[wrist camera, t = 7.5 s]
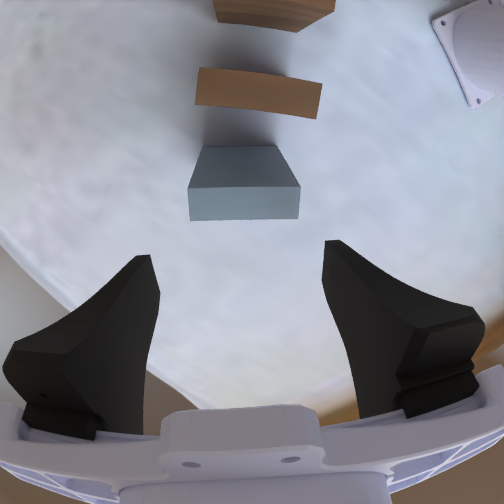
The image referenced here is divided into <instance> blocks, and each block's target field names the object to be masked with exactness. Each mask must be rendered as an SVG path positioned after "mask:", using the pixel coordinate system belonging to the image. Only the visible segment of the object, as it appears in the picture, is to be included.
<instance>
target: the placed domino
mask: <svg viewBox="0 0 504 504" xmlns="http://www.w3.org/2000/svg"><path fill="white" fill-rule="evenodd" d="M300 189H301V187H300V185H299V183H298V181H297V180H296V178H295V176H294V174H293V173H292V171H291V169H290V167H289V166H288V164H287V162H286V161H285V159H284V157H283V155H282V154H281V152H280V150H279V149H278V147H277V146H216V147H203V148H202V150H201V153H200V156H199V158H198V161H197V164H196V166H195V169H194V172H193V175H192V177H191V180H190V183H189V186H188V202H189V214H190V221H207V220H252V219H298V214H299V202H300Z"/></svg>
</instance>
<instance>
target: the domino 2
mask: <svg viewBox="0 0 504 504" xmlns="http://www.w3.org/2000/svg"><path fill="white" fill-rule="evenodd" d="M321 89H322V84H321V83H316V82H311V81H306V80H301V79H296V78H290V77H284V76H278V75H271V74H264V73H257V72H249V71H240V70H230V69H219V68H205V67H199V74H198V82H197V92H196V101H195V105H208V106H221V107H231V108H241V109H250V110H258V111H266V112H273V113H280V114H287V115H293V116H299V117H305V118H310V119H316V117H317V111H318V106H319V100H320V95H321Z"/></svg>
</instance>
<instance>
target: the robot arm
mask: <svg viewBox="0 0 504 504" xmlns="http://www.w3.org/2000/svg"><path fill="white" fill-rule="evenodd" d="M488 1H489V2H488ZM441 21H442V22H443V26H442V24H441ZM432 26H433V29H434V30H435V32H436V34H437V36H438V38H439V40H440V41H441V43H442V45H443V47H444V49H445V51H446V53H447V55H448V57H449V59H450V61H451V64H452V66H453V68H454V70H455V72H456V74H457V77H458V79H459V81H460V84H461V86H462V88H463V91H464V93H465V96H466V98H467V101H468V104H469V106H470V107H471V108H473V109H477V108H478V107H480V106H481V105H483V104H484V103H486V102H487V101H488V100H490V99H491V98H493V97H494V96H496V95H501V96H504V5H501V4H500V2H499V0H477V1H474V2H472V3H470V4H467V5H465V6H463V7H460V8H458V9H456V10H453V11H451V12H449V13H447V14H445V15H443V16H440V17H438V18H436V19H434V20H433V21H432ZM477 99H478V102H477ZM322 284H323V288H324V292H325V296H326V300H327V303H328V305H329V308H330V310H331V313H332V315H333V318H334V320H335V322H336V325H337V327H338V330H339V332H340V335H341V337H342V340H343V343H344V346H345V349H346V352H347V356H348V360H349V364H350V368H351V372H352V377H353V381H354V386H355V391H356V397H357V402H358V408H359V415H360V420H355V421H350V422H345V423H340V424H335V425H329V426H323V427H320V425H319V421H318V417H317V414H316V412H315V410H312V409H310V408H307V407H304V406H302V405H286V404H280V405H271V406H260V407H247V408H231V409H204V410H186V411H178V412H174V413H172V414H171V415H169V416H167V417H166V418H164V419H162V423H161V433H160V436H147V435H143V398H144V382H145V371H146V363H147V358H148V353H149V349H150V345H151V340H152V336H153V332H154V328H155V324H156V320H157V316H158V311H159V302H160V290H159V286H158V283H157V279H156V276H155V272H154V268H153V265H152V261H151V257H150V255H138V256H135V257H134V258H133V259H132V260H131V261H130V262H128V263H127V264H126V265H125V266H124V267H123V268H122V269H121V270H120V271H119V272H118V273H117V274H116V275H115V276H114V277H113V278H112V279H111V280H110V281H109V282H108V283H107V284H106V285H104V286H103V287H102V288H101V289H100V290H99V291H98V292H97V293H96V294H95V295H93V296H92V297H91V298H90V299H89V300H87V301H86V302H85V303H83V304H82V305H81V306H80V307H78V308H77V309H75V310H74V311H73V312H71V313H69V314H68V315H66V316H65V317H63V318H62V319H60V320H59V321H57V322H55V323H54V324H52V325H50V326H48V327H47V328H44V329H42V330H41V331H39V332H36V333H35V334H32V335H30V336H27V337H25V338H23V339H20V340H18V341H15V342H14V344H13V346H12V348H11V350H10V352H9V354H8V356H7V358H6V360H5V362H4V364H3V366H2V367H3V373H4V375H5V377H6V379H7V380H8V382H9V383H10V384H11V386H12V387H13V388H14V389H15V390H16V391H17V392H18V394H19V395H20V396H21V397H22V398H23V399H24V400H25V401H26V402H27V404H26V407H25V410H24V409H23V408H21V407H20V406H17V405H14V404H10V403H6V402H2V401H0V466H1V467H2V468H4V469H5V470H7V471H8V472H10V473H11V474H13V475H14V476H16V477H18V478H19V479H21V480H24V481H26V482H29V483H31V484H34V485H37V486H39V487H43V488H45V489H48V490H51V491H53V492H56V493H59V494H62V495H65V496H68V497H71V498H74V499H77V500H80V501H84V502H87V503H91V504H392V501H391V497H390V494H391V493H393V492H396V491H399V490H401V489H404V488H406V487H409V486H411V485H414V484H416V483H419V482H421V481H423V480H425V479H427V478H430V477H432V476H434V475H437V474H439V473H441V472H443V471H445V470H447V469H449V468H451V467H453V466H455V465H457V464H459V463H461V462H463V461H465V460H467V459H469V458H471V457H472V456H474V455H476V454H478V453H480V452H482V451H484V450H485V449H487V448H489V447H491V446H493V445H494V444H495V443H496V442H498V441H499V440H500V439H501V438H502V437H503V436H504V368H503V367H502V365H501V364H499V365H496V366H494V367H492V368H489V369H487V370H484V371H482V372H480V373H479V374H478V375H477V376H474V374H473V373H472V371H471V370H473V369H474V364H473V362H472V360H471V358H472V356H473V355H474V353H475V351H476V350H477V348H478V346H479V344H480V343H481V341H482V339H483V336H484V332H485V324H484V322H483V321H482V319H481V318H480V316H479V315H478V314H477V312H476V311H475V310H474V308H473V307H470V306H466V305H462V304H458V303H453V302H450V301H447V300H444V299H441V298H437V297H435V296H432V295H429V294H427V293H424V292H422V291H420V290H418V289H415V288H413V287H411V286H409V285H407V284H405V283H403V282H401V281H399V280H398V279H396V278H394V277H392V276H391V275H389V274H387V273H386V272H384V271H383V270H381V269H380V268H378V267H377V266H375V265H374V264H372V263H371V262H369V261H368V260H367V259H365V258H364V257H362V256H361V255H360V254H358V253H357V252H356V251H354V250H353V249H352V248H350V247H349V246H348V245H346V244H345V243H343V242H342V241H340V240H329V241H325V248H324V260H323V271H322Z"/></svg>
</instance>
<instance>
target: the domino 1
mask: <svg viewBox="0 0 504 504" xmlns="http://www.w3.org/2000/svg"><path fill="white" fill-rule="evenodd" d="M212 1H213V4H214V8H215V12H216V15H217V19H218V22H219V23H232V24H242V25H250V26H258V27H266V28H272V29H278V30H284V31H290V32H295V33H297V32H299V31H300V30H302V29H304V28H305V27H307V26H309V25H310V24H312V23H314V22H316V21H317V20H319V19H321V18H323V17H325V16H326V15H328V14H330V13H332V12H334V9H335V2H336V0H212Z"/></svg>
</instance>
